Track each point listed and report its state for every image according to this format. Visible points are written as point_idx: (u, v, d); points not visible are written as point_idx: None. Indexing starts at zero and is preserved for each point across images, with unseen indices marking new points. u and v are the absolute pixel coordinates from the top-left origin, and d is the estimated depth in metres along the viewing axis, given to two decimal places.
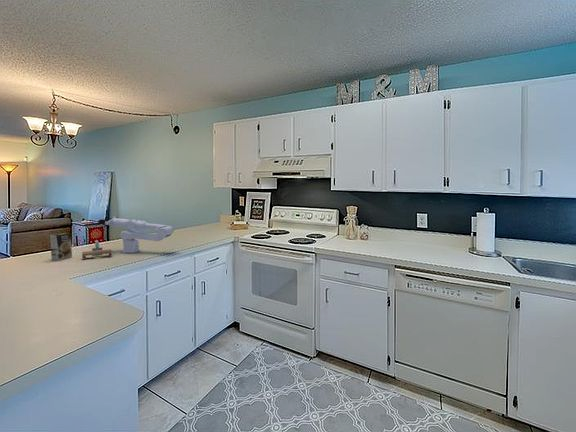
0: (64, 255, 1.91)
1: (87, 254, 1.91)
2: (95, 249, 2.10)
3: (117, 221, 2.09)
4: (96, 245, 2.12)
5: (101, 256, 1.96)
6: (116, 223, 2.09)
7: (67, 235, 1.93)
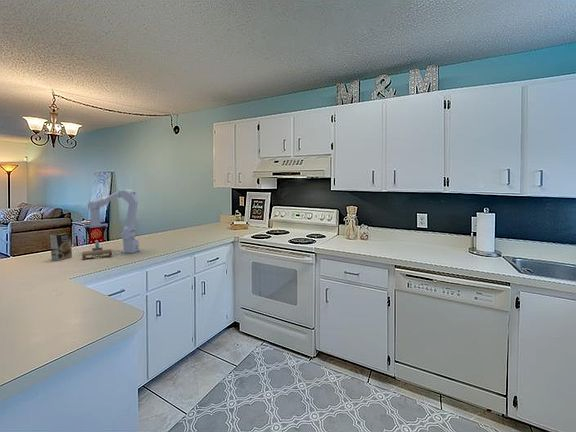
0: (64, 255, 1.91)
1: (87, 254, 1.91)
2: (95, 249, 2.10)
3: None
4: (96, 245, 2.12)
5: (101, 256, 1.96)
6: None
7: (67, 235, 1.93)
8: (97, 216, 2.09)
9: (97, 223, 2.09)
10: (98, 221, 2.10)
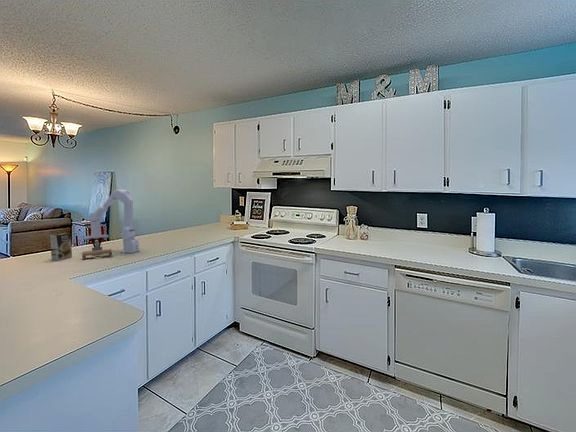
0: (64, 255, 1.91)
1: (87, 254, 1.91)
2: (95, 249, 2.10)
3: None
4: (96, 245, 2.12)
5: (101, 256, 1.96)
6: (91, 231, 2.10)
7: (67, 235, 1.93)
8: (98, 227, 2.10)
9: (98, 234, 2.10)
10: (99, 232, 2.11)
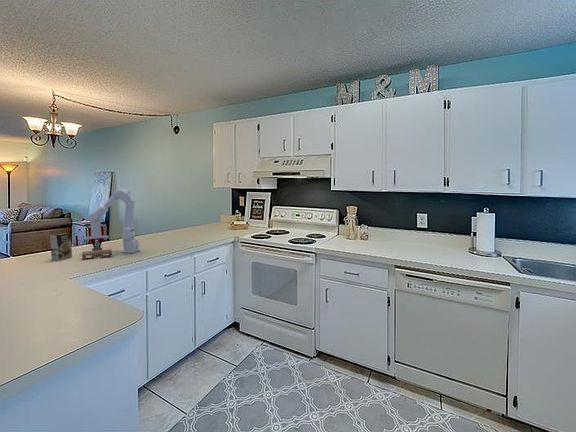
0: (64, 255, 1.91)
1: (87, 254, 1.91)
2: (95, 249, 2.08)
3: None
4: (96, 245, 2.10)
5: (101, 256, 1.96)
6: (91, 232, 2.07)
7: (67, 235, 1.93)
8: (98, 228, 2.08)
9: (98, 235, 2.08)
10: (99, 233, 2.09)
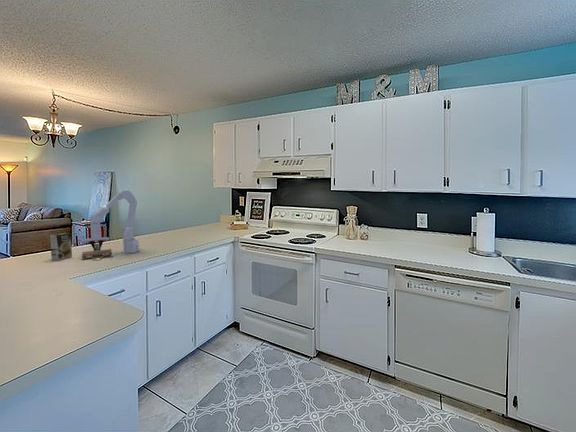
0: (64, 255, 1.91)
1: (87, 254, 1.91)
2: None
3: None
4: (96, 247, 2.03)
5: (101, 258, 1.91)
6: (91, 234, 2.01)
7: (67, 235, 1.93)
8: (100, 229, 2.02)
9: (98, 237, 2.01)
10: (99, 235, 2.02)
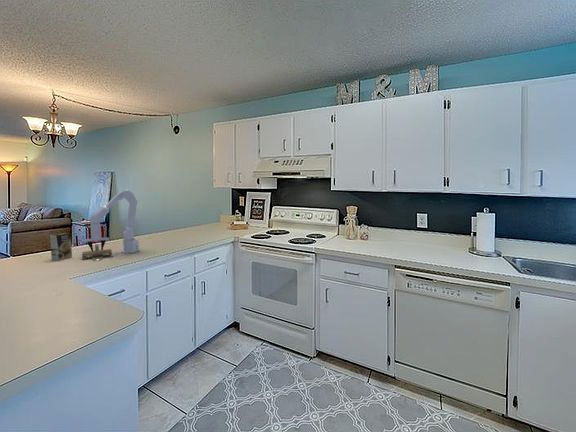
0: (64, 255, 1.91)
1: (87, 254, 1.91)
2: None
3: None
4: (96, 248, 2.02)
5: (101, 258, 1.90)
6: (91, 234, 1.99)
7: (67, 235, 1.93)
8: (100, 230, 2.01)
9: (98, 237, 2.00)
10: (99, 235, 2.00)
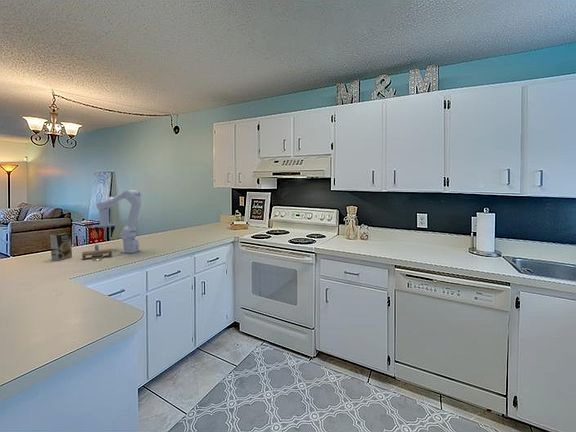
0: (64, 255, 1.91)
1: (87, 254, 1.91)
2: None
3: None
4: (96, 248, 2.02)
5: (101, 258, 1.90)
6: None
7: (67, 235, 1.93)
8: (105, 216, 2.12)
9: (106, 223, 2.13)
10: (107, 221, 2.14)
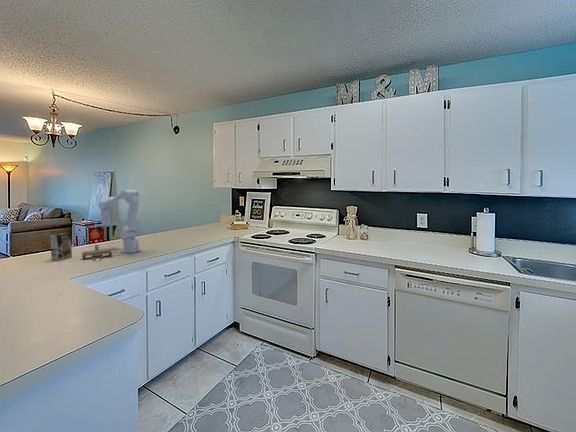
0: (64, 255, 1.91)
1: (87, 254, 1.91)
2: None
3: None
4: (96, 248, 2.02)
5: (101, 258, 1.90)
6: (101, 220, 2.15)
7: (67, 235, 1.93)
8: (106, 216, 2.15)
9: (108, 223, 2.16)
10: (109, 221, 2.16)
